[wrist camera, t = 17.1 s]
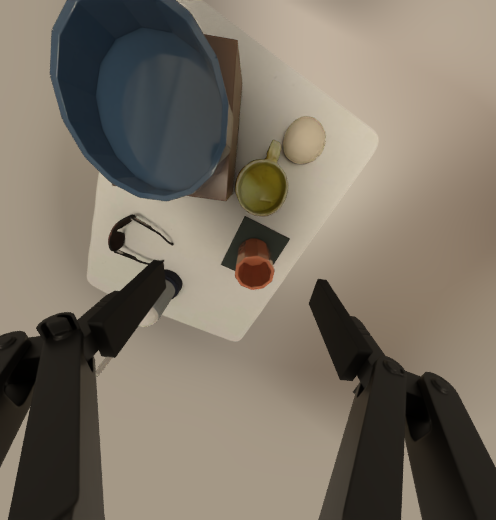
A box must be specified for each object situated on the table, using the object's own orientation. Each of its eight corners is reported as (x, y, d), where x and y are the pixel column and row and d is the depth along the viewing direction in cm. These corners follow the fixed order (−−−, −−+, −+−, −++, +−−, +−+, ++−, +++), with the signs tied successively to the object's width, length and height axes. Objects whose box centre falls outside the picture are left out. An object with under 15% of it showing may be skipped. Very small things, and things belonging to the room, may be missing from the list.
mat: (244, 215, 40) (244, 216, 40) (289, 238, 42) (289, 239, 42) (221, 263, 46) (221, 264, 46) (261, 281, 48) (261, 282, 48)
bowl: (239, 37, 20) (235, -5, 15) (227, 202, 28) (222, 208, 24) (74, 9, 19) (16, -45, 15) (111, 186, 28) (81, 189, 23)
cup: (272, 239, 42) (277, 258, 33) (266, 268, 46) (269, 291, 37) (240, 235, 42) (237, 253, 33) (237, 264, 45) (233, 287, 36)
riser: (242, 82, 30) (237, 39, 20) (232, 193, 38) (226, 201, 28) (135, 65, 29) (77, 12, 20) (149, 182, 37) (112, 185, 28)
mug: (271, 227, 39) (267, 224, 30) (233, 204, 40) (218, 193, 31) (303, 176, 37) (311, 155, 27) (262, 152, 38) (255, 123, 28)
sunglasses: (129, 207, 40) (117, 213, 35) (179, 234, 44) (173, 243, 40) (115, 242, 44) (102, 251, 39) (162, 264, 48) (155, 275, 44)
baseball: (308, 170, 36) (319, 170, 30) (275, 156, 35) (279, 153, 29) (325, 132, 33) (342, 123, 27) (290, 116, 32) (299, 103, 26)
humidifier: (150, 287, 50) (66, 381, 28) (156, 264, 47) (67, 350, 24) (177, 298, 51) (120, 395, 29) (185, 276, 48) (127, 367, 26)
